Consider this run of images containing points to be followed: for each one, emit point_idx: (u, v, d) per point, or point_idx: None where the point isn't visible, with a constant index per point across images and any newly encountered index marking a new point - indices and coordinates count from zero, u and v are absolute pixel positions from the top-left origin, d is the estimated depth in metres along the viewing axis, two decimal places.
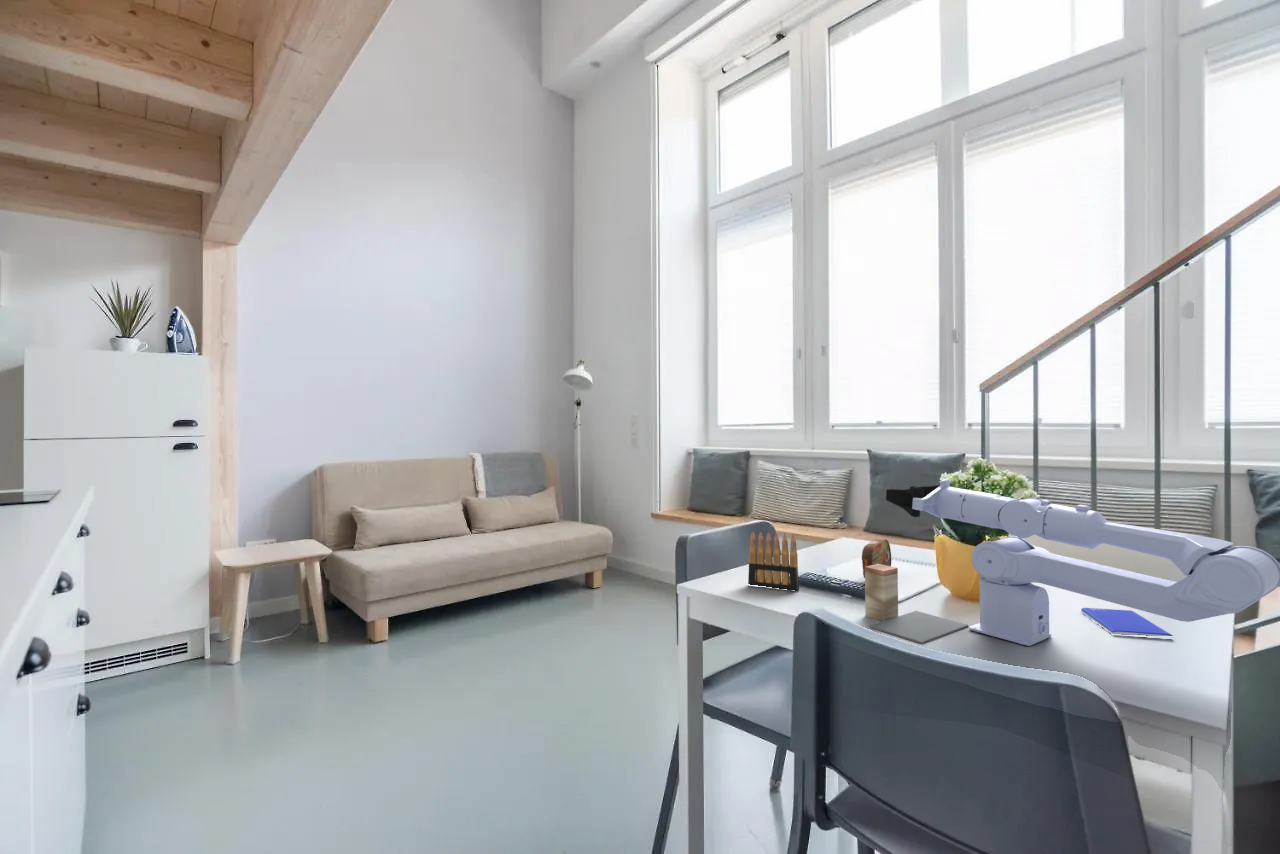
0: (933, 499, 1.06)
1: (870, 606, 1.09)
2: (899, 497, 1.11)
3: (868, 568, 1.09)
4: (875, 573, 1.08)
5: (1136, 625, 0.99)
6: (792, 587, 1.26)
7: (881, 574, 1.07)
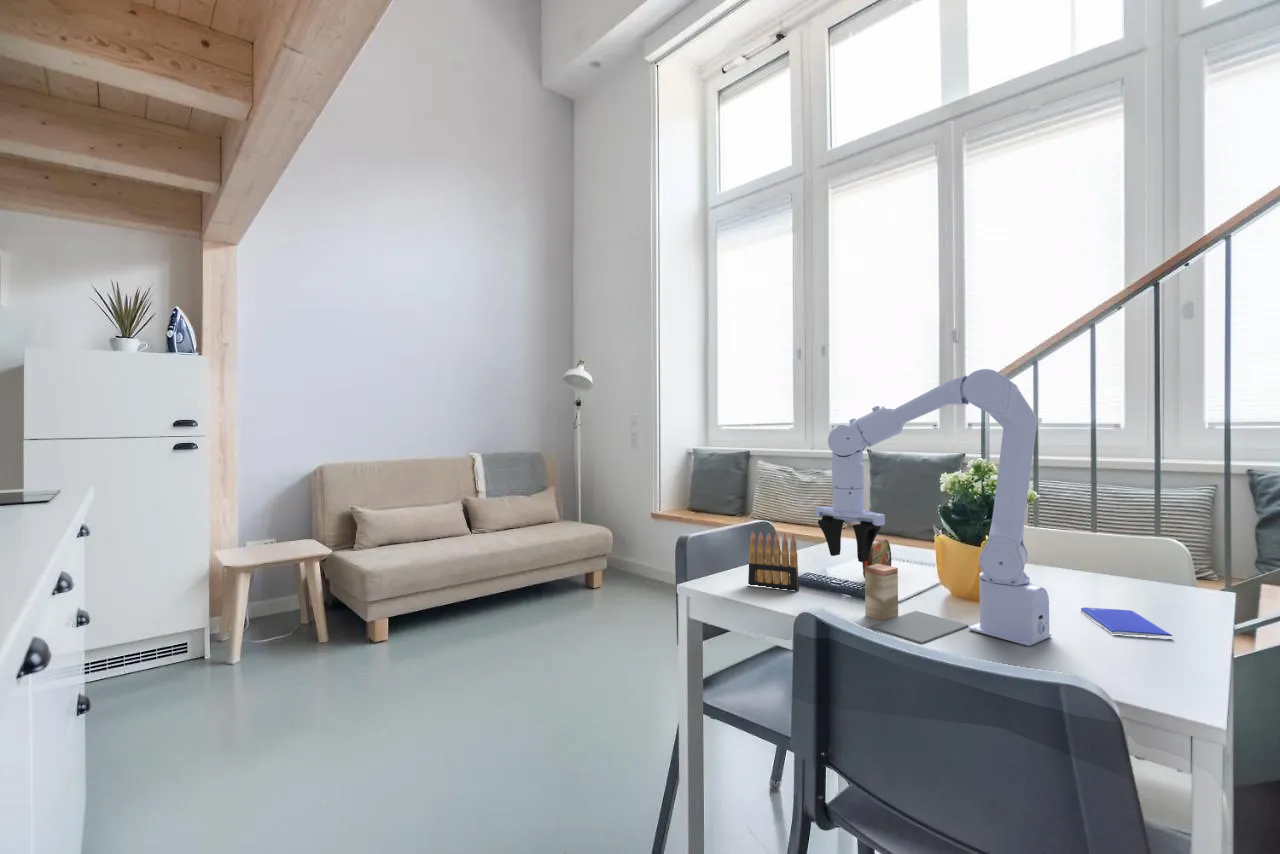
0: None
1: (870, 606, 1.09)
2: (865, 546, 1.12)
3: (868, 568, 1.09)
4: (875, 573, 1.08)
5: (1136, 625, 0.99)
6: (792, 587, 1.26)
7: (881, 574, 1.07)
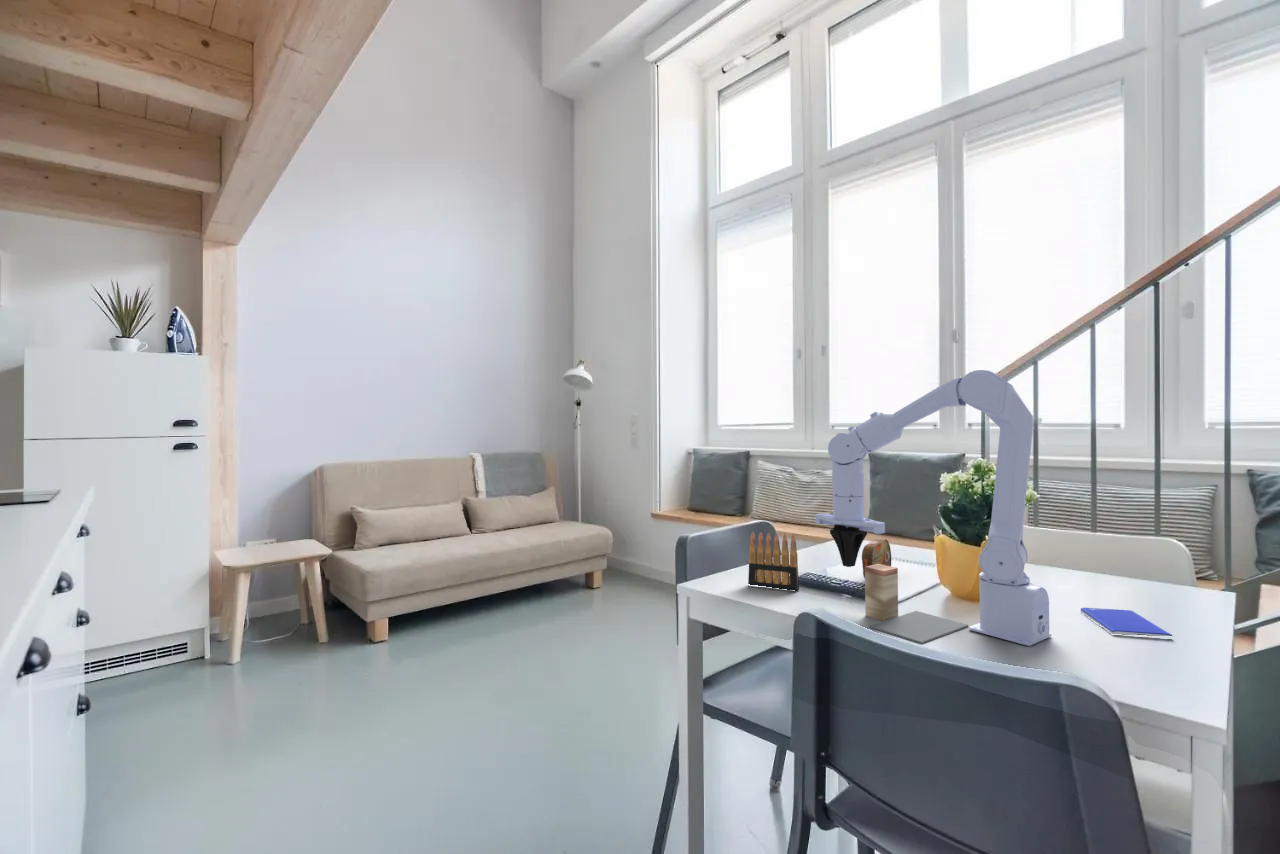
0: None
1: (870, 606, 1.09)
2: (852, 551, 1.14)
3: (868, 568, 1.09)
4: (875, 573, 1.08)
5: (1135, 625, 0.99)
6: (792, 587, 1.26)
7: (881, 574, 1.07)
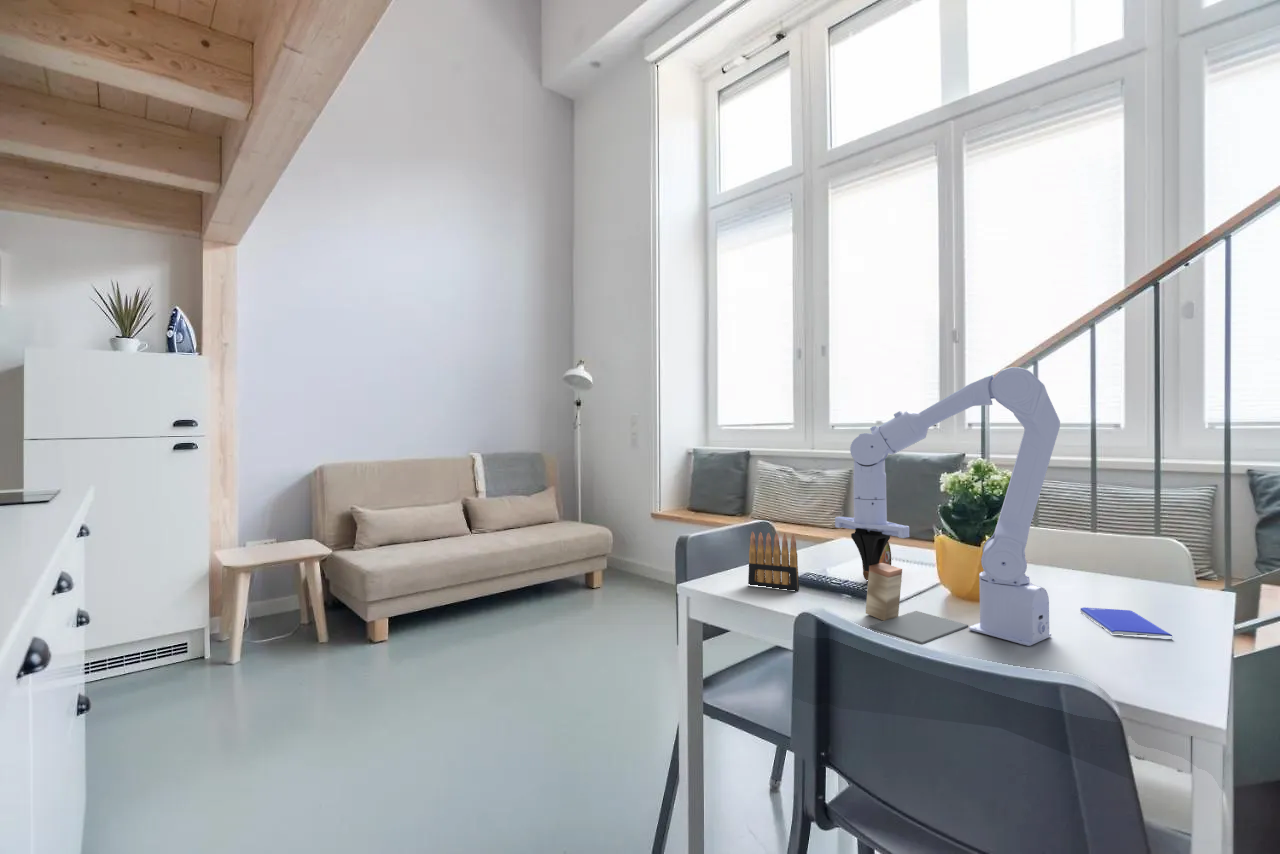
0: None
1: (871, 605, 1.08)
2: (874, 556, 1.10)
3: (872, 567, 1.08)
4: (879, 573, 1.07)
5: (1135, 625, 0.99)
6: (792, 587, 1.26)
7: (885, 575, 1.06)
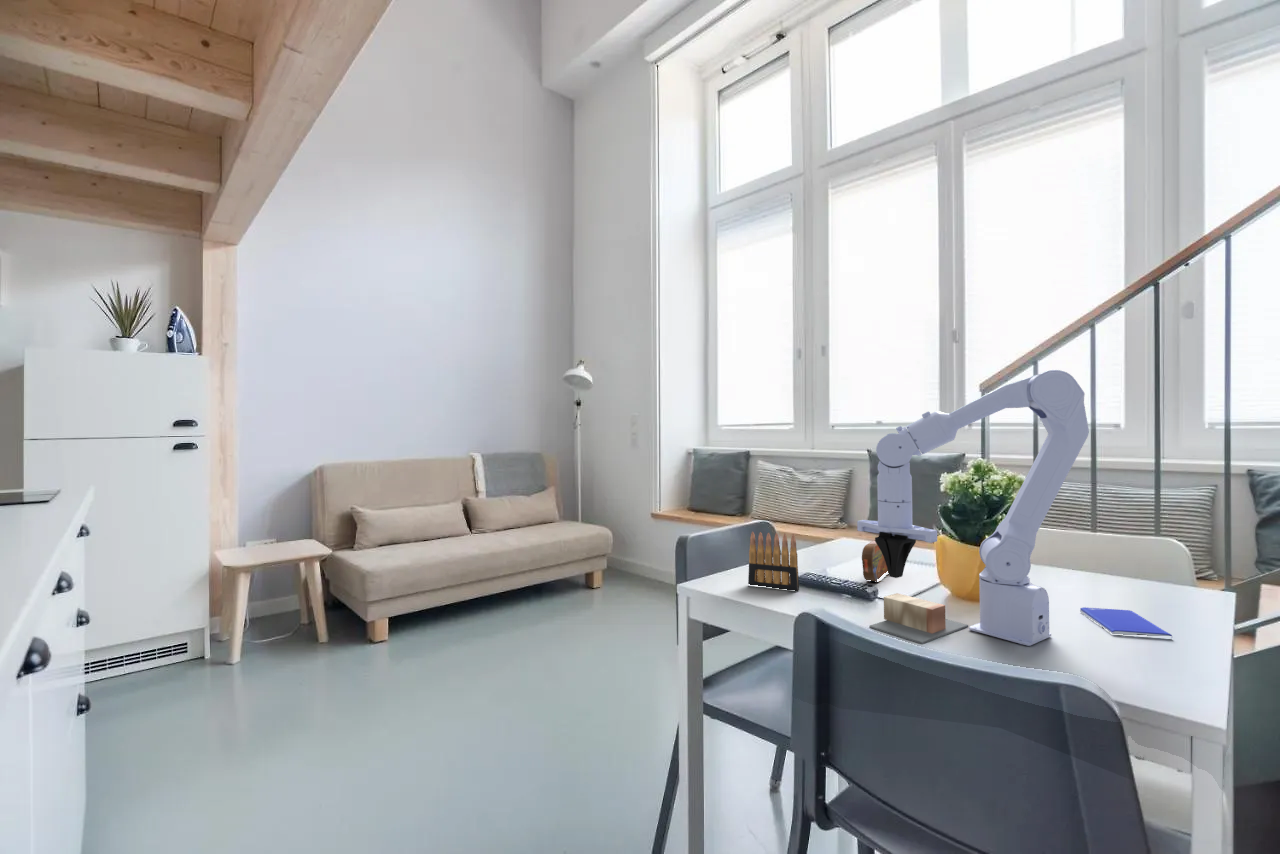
0: None
1: (893, 605, 1.05)
2: (899, 561, 1.06)
3: (931, 613, 0.99)
4: (927, 621, 0.99)
5: (1135, 625, 0.99)
6: (792, 587, 1.26)
7: (928, 628, 0.99)
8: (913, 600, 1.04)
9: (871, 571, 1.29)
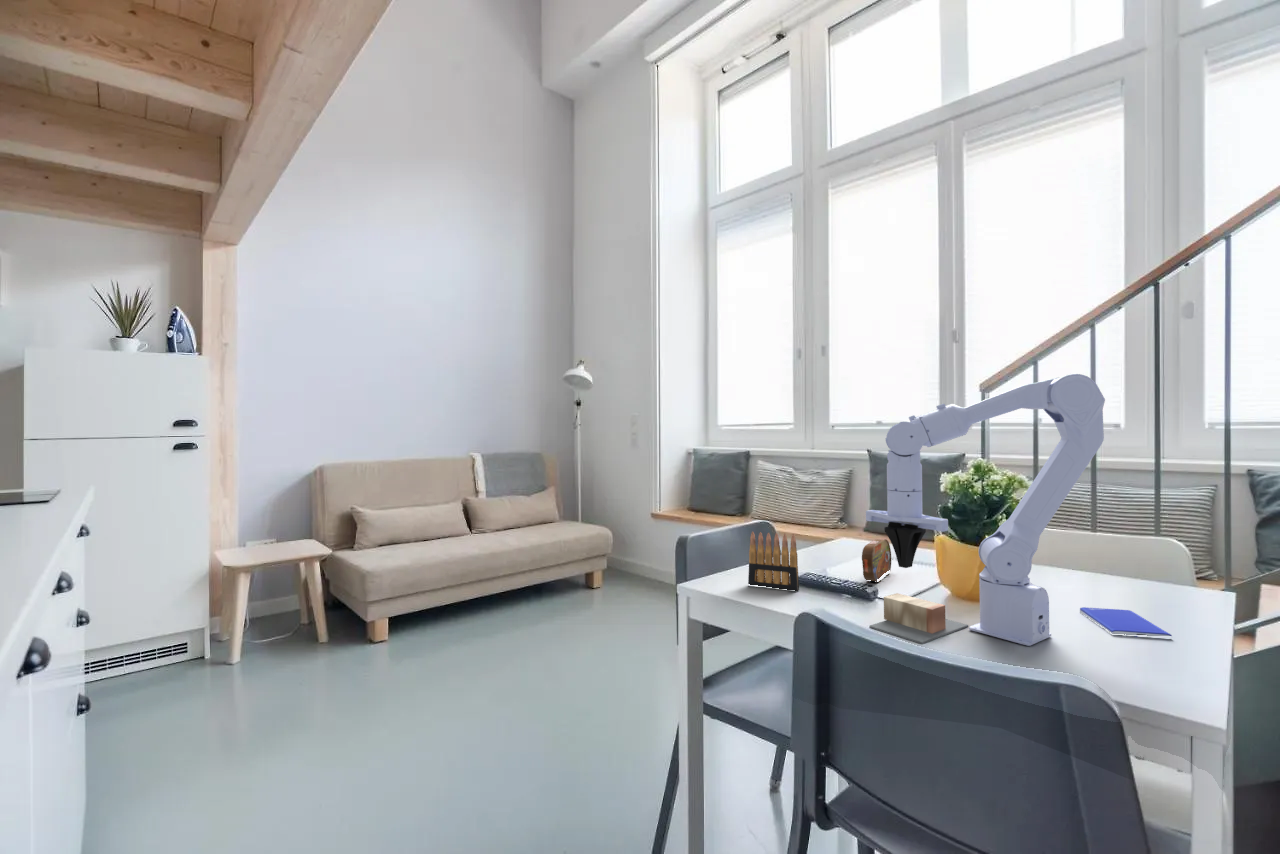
0: None
1: (893, 605, 1.05)
2: (909, 551, 1.05)
3: (931, 613, 0.99)
4: (927, 621, 0.99)
5: (1135, 625, 1.00)
6: (792, 587, 1.26)
7: (928, 628, 0.99)
8: (913, 600, 1.04)
9: (871, 571, 1.29)
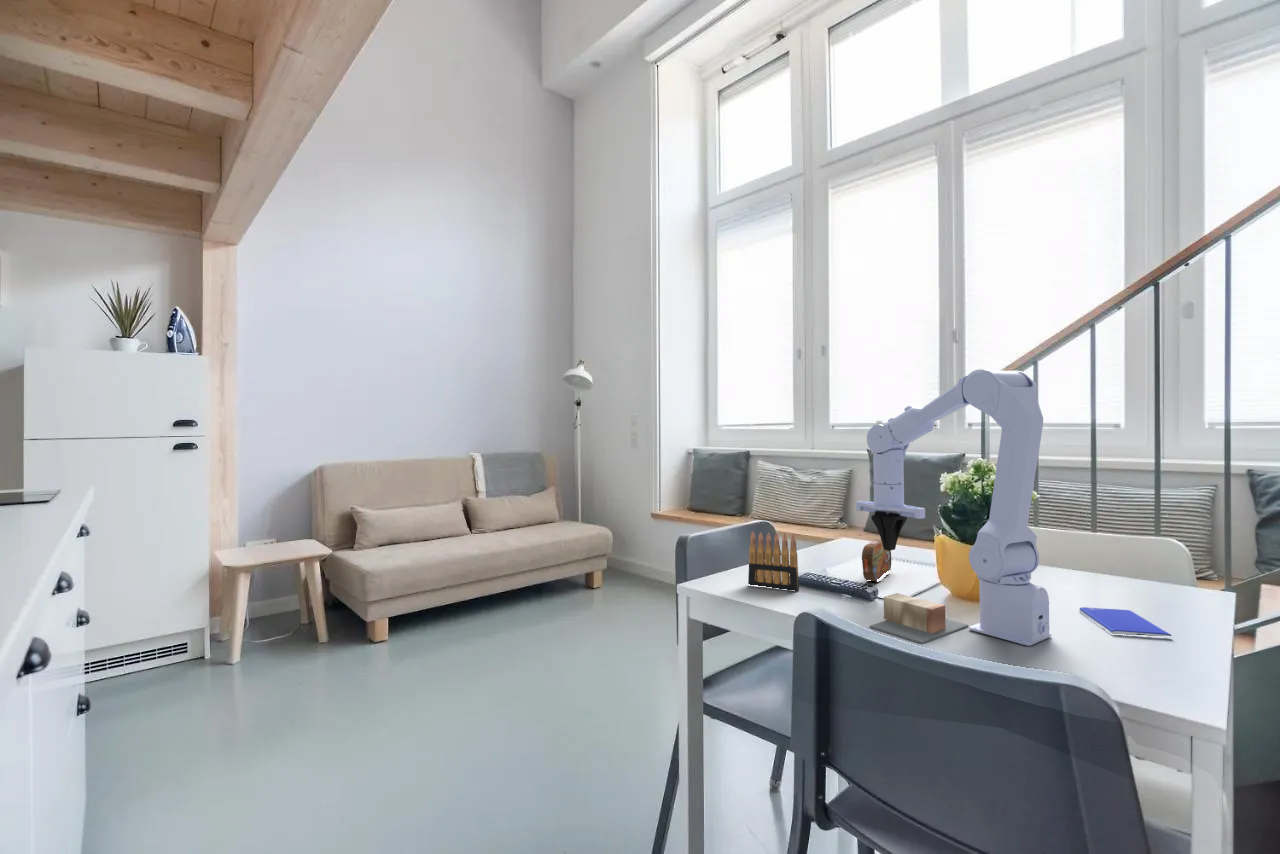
0: None
1: (893, 605, 1.05)
2: (892, 536, 1.21)
3: (931, 613, 0.99)
4: (927, 621, 0.99)
5: (1135, 625, 1.00)
6: (792, 587, 1.26)
7: (928, 628, 0.99)
8: (913, 600, 1.04)
9: (871, 571, 1.29)
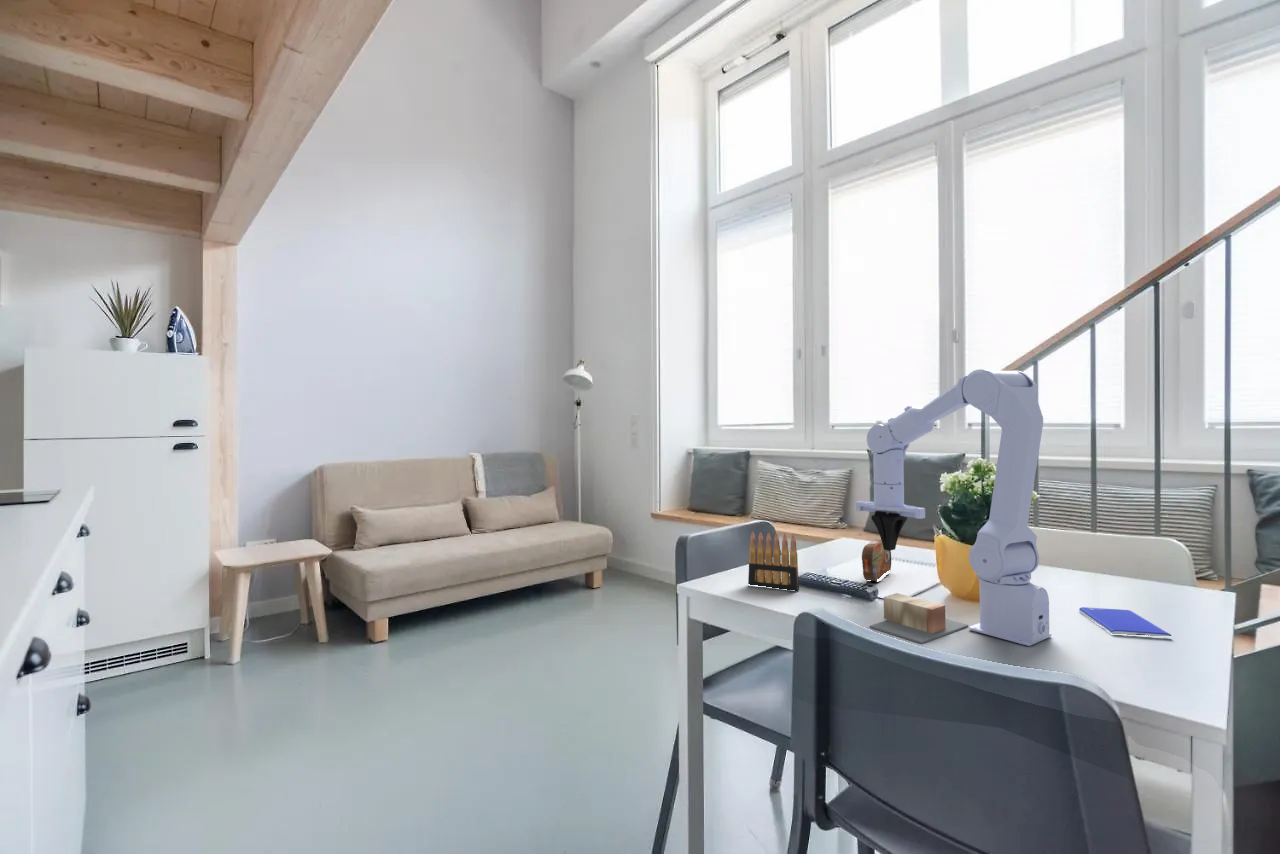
0: None
1: (893, 605, 1.05)
2: (892, 536, 1.21)
3: (931, 613, 0.99)
4: (927, 621, 0.99)
5: (1134, 625, 1.00)
6: (792, 587, 1.26)
7: (928, 628, 0.99)
8: (913, 600, 1.04)
9: (871, 571, 1.29)
